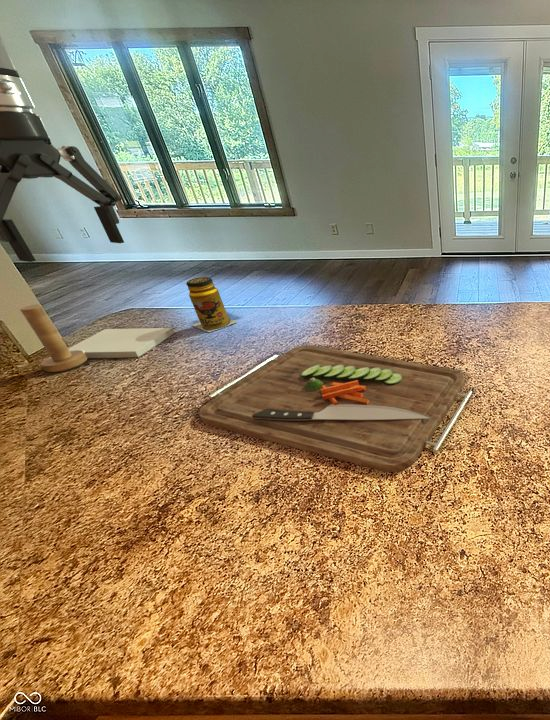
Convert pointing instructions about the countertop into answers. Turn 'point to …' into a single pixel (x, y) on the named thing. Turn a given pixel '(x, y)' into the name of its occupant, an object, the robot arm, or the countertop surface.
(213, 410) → the chopping board
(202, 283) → the condiment
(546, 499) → the countertop surface
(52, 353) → the brush
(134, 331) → the tile
